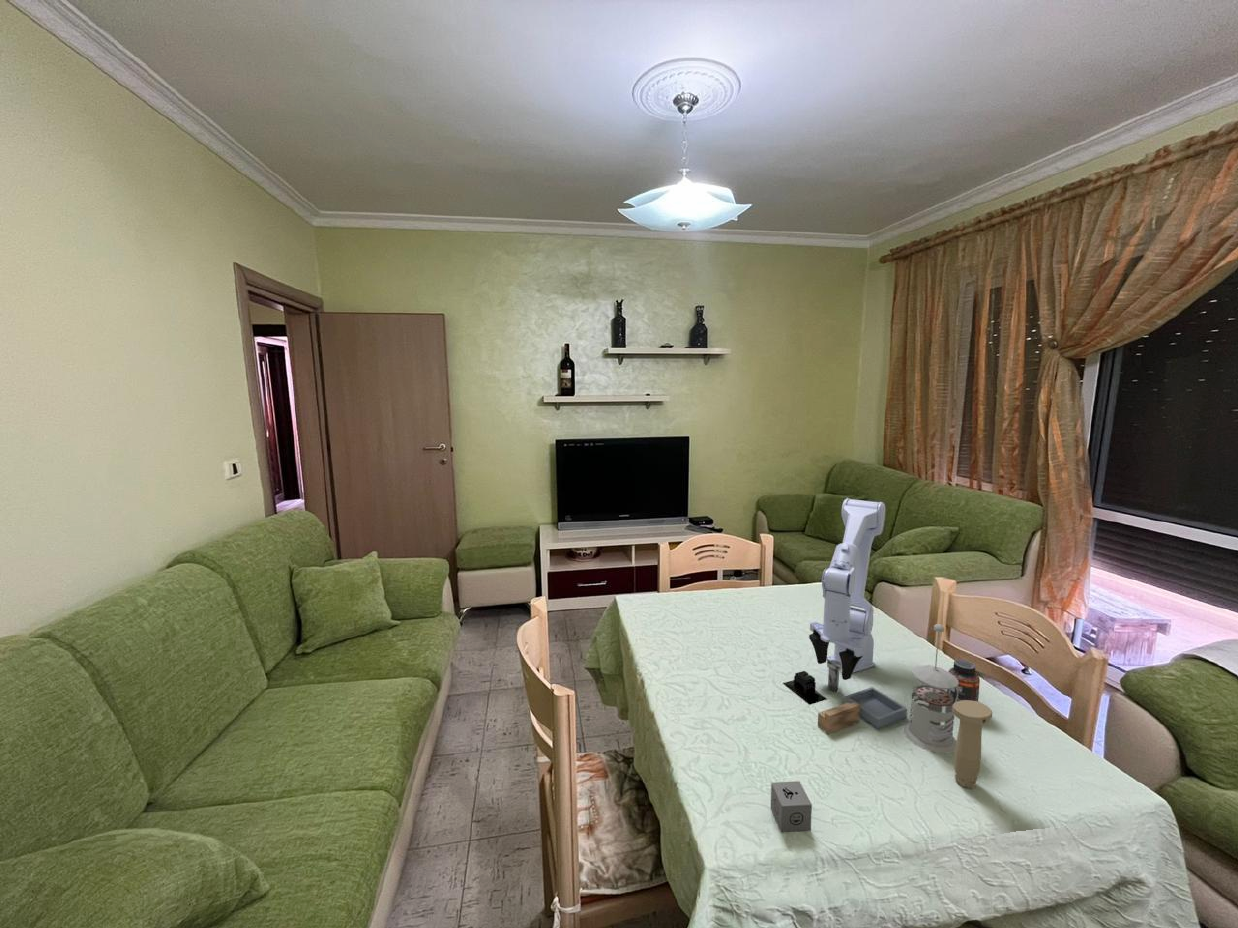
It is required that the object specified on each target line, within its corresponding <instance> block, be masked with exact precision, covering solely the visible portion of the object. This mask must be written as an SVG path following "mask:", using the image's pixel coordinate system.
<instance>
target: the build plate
mask: <svg viewBox="0 0 1238 928" xmlns="http://www.w3.org/2000/svg"><path fill="white" fill-rule="evenodd" d="M782 685H784V686H785V687H786V688H787V689H789V690H790V691H791V692H792V693H794V695H796V696H797V697H799V698H800V699H801V700H802V701H804V702H805V703H807V704H808V705H814V704H818V703H819V702H820V703H821V702H823V701H826V700H828V698H827V697H825V696H824V695H823V694H821V693H820V692H819V691H817V690H816V685H817V683H816V678H815V677H814V676H813V675H810V673H808V672H807V671H806V670H802V671H799V672H795V675H794V676H793V680H789V681H785V682H783V683H782Z"/></svg>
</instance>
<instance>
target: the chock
mask: <svg viewBox="0 0 1238 928" xmlns="http://www.w3.org/2000/svg"><path fill="white" fill-rule="evenodd" d="M859 715H860V704H858V703H857V702H854V703H851V704H850V703H849V702H848V703H845V704H844V703H843V704H842V703H841V704H840V705H837V706H834V707H832V708H829V709H826V710H822V711H819V712H818V713H817V727H819V728H820V729H821V730H823V731H824V732H825V733H826V734H828V735H829V734H832V733H834V732H838V731H840V730H843V729H845V728H848V727H851V726H853V725H857V724H858V723H860V717H859Z"/></svg>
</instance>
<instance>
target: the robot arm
mask: <svg viewBox="0 0 1238 928" xmlns="http://www.w3.org/2000/svg"><path fill="white" fill-rule="evenodd" d="M840 513H841V519H842V520H843V525H844V527H845V530H844V534H843V539H842V543H838V544H837V545H836V546H835V549H834V552H833V555H832V558H831V561H830V565H829V567H828V568H825V569H824V570H823V572H822V576H821V577H822V578H821V589H822V598H823V599H824V602H823V603H824V604H823V605H824V607H823V624H822V623H820V622H817V621H814V622H810V623H809V632H810V631H811V632H812V633H811V634H809V635H808V638H809V640H810V642H811V644H812V646H813V650H814V651H815V657H816V661H817V664H819V665H823V664H825V663H826V664H827V661H829V660H835V661H838V662H840V663H841V677H842V680H844V681H847V680H850V679H852V676H853V673H856V672H859V671H862V670H866V669H868V668H871V667H875V666H876V663H875V662H874V649H875V647H874V646H875V642H874V637H873V635H872V631H873V627H874V612H875V610H874V609H875V608H874V607H873V605H872V604H871V602H869V601H868V600H867V598H865V592H866V591H865V589H866V584H867V578H868V577H867V576H868V572H869V565H870V558H871V551H872V544H873V542H874V539H875V537H876V536H877V537H878V536H880V535H882V533H883V530H884V527H885V519H886V505H885V503H884V502H883V501H871V500H862V499H861V500H860V499H852V498H849V497H846V499H844V500H843V502H842V506H841V512H840ZM830 643H832V644H834V654H833V655H831V656H828V651H829V650H828V648H829V645H830Z"/></svg>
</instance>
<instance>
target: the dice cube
mask: <svg viewBox="0 0 1238 928" xmlns="http://www.w3.org/2000/svg"><path fill="white" fill-rule="evenodd" d="M770 786H771V787H770V810H771V813H772V814H773V817H774V819H775V822H776V824H777V827H778V828H779V831H780V833H781V834H782V833H799V832H802V833H803V832H811V831H812V830H811V829H812V808H813V807H812V806H813V805H812V802H811V800H810V799H809V797H808V795H807V793H806V791H805V789H804V787H803V784H802V783H801V782H800V780H799V781H798V780H797V781H778V782H777V781H776V782H771V783H770Z"/></svg>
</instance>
